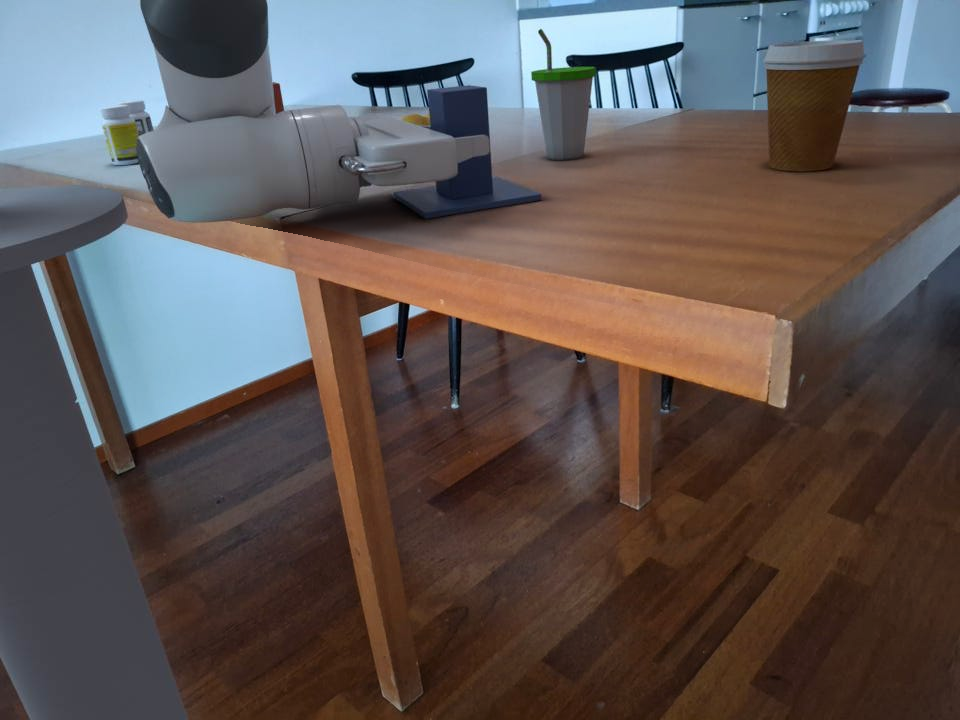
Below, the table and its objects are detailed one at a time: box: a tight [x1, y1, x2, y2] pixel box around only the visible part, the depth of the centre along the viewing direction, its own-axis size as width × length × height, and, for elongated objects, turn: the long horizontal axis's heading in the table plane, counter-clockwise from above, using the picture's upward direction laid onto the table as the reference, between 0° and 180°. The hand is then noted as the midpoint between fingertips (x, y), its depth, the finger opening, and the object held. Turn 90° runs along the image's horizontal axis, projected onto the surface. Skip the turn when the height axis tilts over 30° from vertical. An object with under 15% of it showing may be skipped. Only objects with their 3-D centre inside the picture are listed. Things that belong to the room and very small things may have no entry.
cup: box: [530, 28, 597, 161], centre depth 88 cm, size 8×8×15 cm
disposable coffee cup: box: [761, 39, 868, 172], centre depth 74 cm, size 10×10×12 cm
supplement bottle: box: [99, 104, 139, 166], centre depth 111 cm, size 5×5×8 cm
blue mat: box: [392, 176, 542, 220], centre depth 74 cm, size 12×11×1 cm
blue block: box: [426, 84, 493, 200], centre depth 71 cm, size 4×4×10 cm
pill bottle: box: [117, 99, 155, 136], centre depth 120 cm, size 5×5×8 cm
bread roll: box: [400, 113, 430, 126], centre depth 114 cm, size 8×9×4 cm
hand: (468, 138), depth 71 cm, fingers open, 8 cm apart
